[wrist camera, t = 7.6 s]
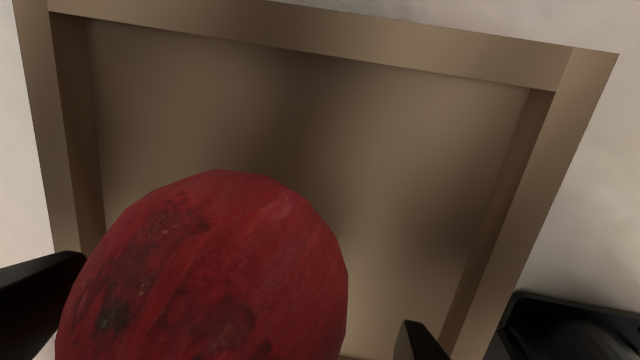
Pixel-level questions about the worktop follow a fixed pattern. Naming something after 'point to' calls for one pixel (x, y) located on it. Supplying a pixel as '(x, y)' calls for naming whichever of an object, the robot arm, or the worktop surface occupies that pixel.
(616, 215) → the worktop surface
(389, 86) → the shelf
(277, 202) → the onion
